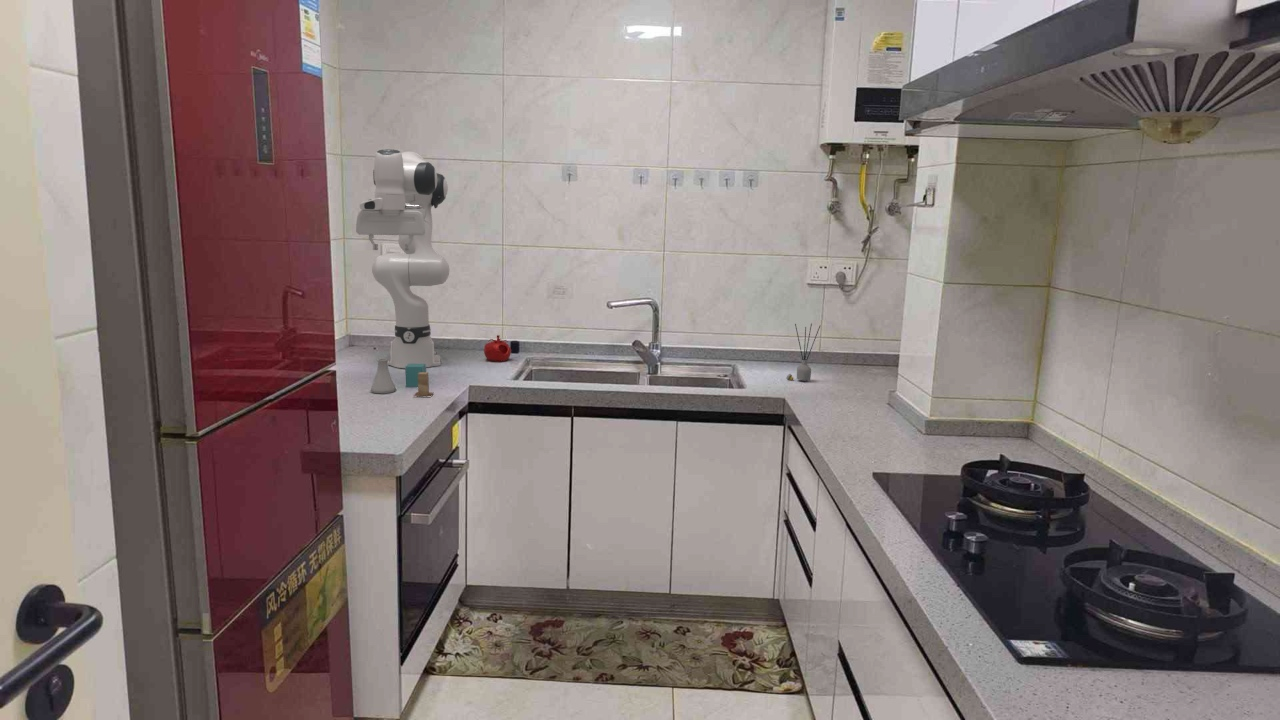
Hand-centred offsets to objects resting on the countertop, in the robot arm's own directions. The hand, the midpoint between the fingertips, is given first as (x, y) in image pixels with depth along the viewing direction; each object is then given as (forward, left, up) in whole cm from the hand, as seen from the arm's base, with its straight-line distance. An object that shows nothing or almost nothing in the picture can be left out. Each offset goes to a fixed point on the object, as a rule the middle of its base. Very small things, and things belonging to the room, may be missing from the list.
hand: (391, 250), depth 255 cm
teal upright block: (+2, +7, -42) cm, 43 cm away
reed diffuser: (-13, +133, -42) cm, 140 cm away
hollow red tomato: (-43, +27, -42) cm, 66 cm away
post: (+15, +12, -42) cm, 46 cm away
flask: (+10, -1, -42) cm, 44 cm away
